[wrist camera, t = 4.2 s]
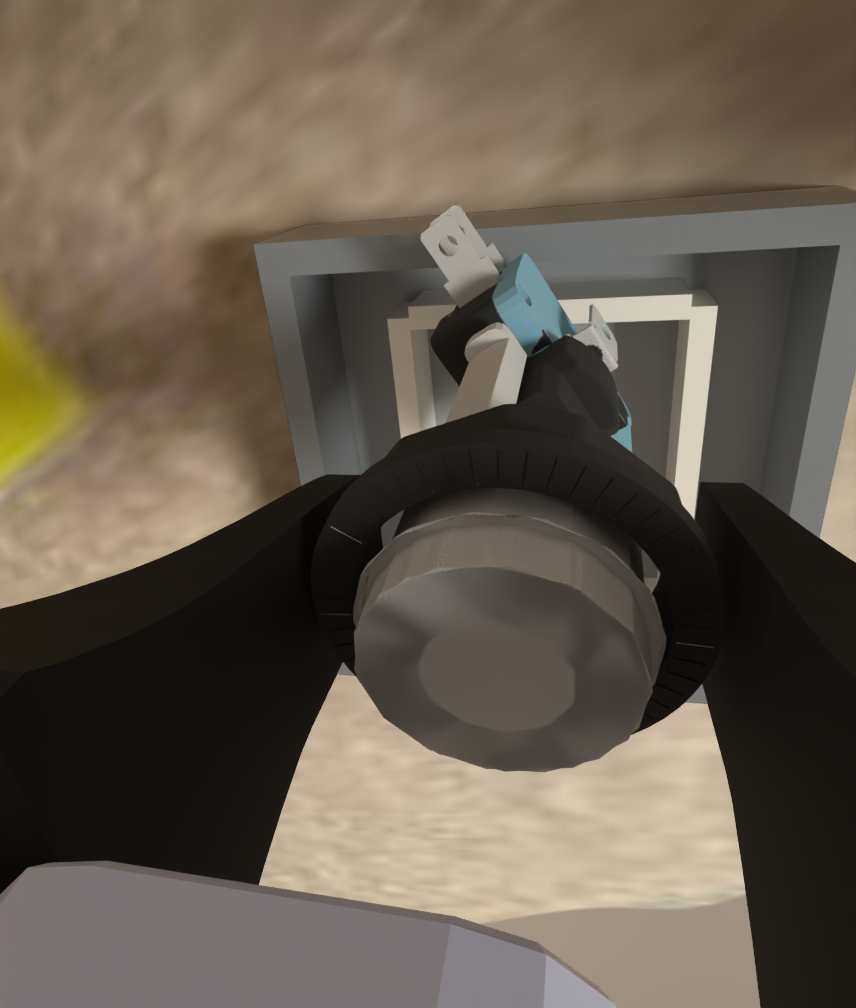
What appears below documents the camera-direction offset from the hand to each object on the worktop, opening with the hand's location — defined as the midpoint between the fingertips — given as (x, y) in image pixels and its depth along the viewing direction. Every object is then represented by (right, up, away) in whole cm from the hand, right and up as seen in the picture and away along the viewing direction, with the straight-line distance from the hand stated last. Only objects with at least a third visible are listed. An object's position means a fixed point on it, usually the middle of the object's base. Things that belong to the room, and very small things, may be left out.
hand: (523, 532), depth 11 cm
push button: (+1, +5, +5) cm, 7 cm away
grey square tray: (+2, +2, +10) cm, 11 cm away
